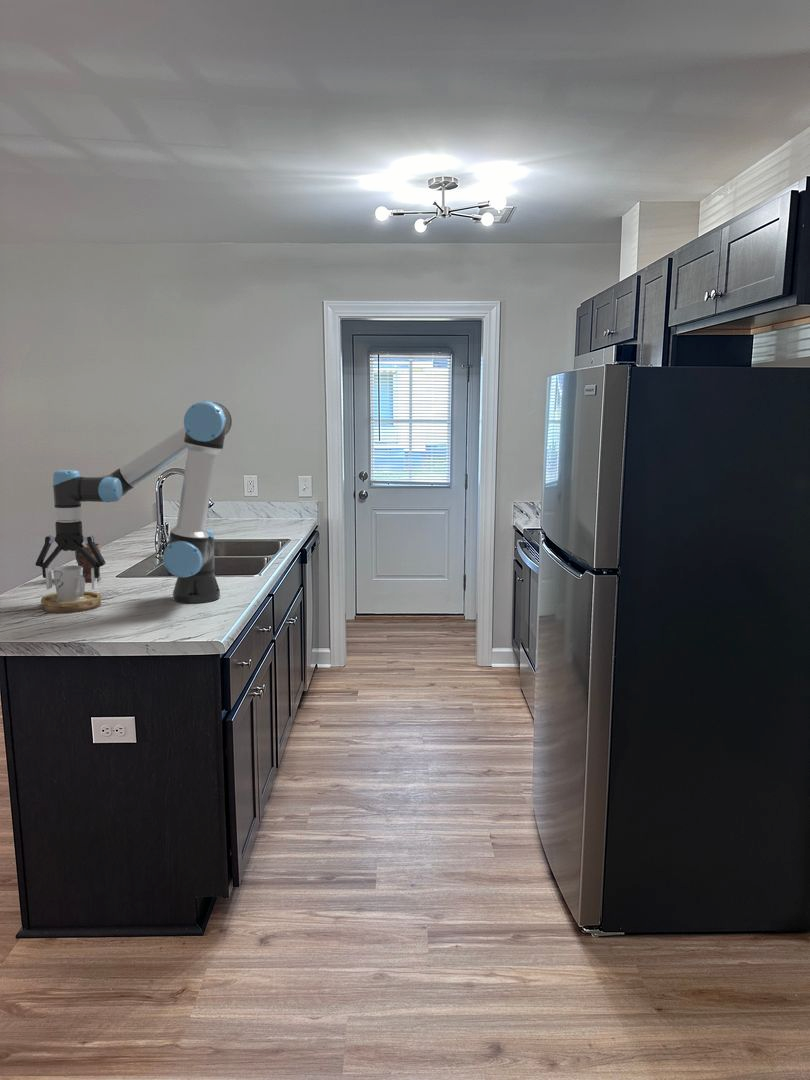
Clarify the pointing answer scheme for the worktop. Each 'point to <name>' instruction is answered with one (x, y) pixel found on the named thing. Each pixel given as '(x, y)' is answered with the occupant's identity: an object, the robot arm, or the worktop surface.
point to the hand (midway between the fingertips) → (72, 588)
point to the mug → (69, 582)
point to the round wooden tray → (71, 603)
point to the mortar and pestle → (86, 562)
